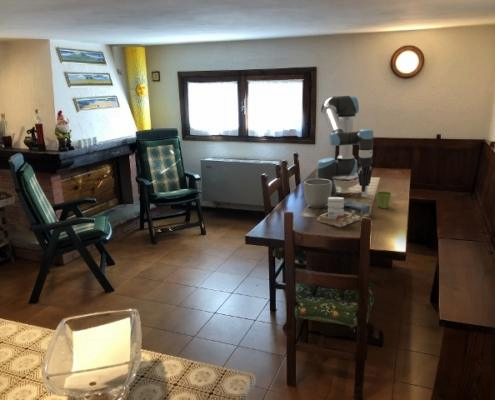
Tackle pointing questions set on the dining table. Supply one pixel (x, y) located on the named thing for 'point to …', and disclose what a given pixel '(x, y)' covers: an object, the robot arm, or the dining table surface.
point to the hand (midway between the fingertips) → (364, 196)
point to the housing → (357, 206)
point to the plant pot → (383, 199)
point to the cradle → (349, 217)
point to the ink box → (336, 207)
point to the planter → (317, 192)
